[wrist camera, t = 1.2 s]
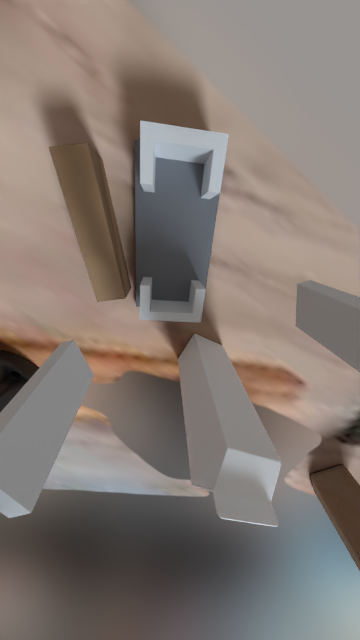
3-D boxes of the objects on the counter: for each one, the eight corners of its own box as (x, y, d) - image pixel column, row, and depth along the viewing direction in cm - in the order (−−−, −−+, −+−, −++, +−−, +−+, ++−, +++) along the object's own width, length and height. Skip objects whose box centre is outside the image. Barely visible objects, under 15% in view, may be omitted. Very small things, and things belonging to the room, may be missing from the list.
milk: (194, 332, 32) (242, 494, 13) (223, 345, 34) (308, 508, 14) (177, 359, 35) (195, 535, 15) (205, 370, 36) (257, 543, 16)
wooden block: (308, 473, 55) (378, 591, 37) (343, 462, 54) (432, 578, 36) (312, 488, 59) (376, 602, 41) (344, 478, 58) (425, 590, 40)
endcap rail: (136, 304, 29) (131, 319, 24) (136, 143, 21) (127, 118, 16) (201, 307, 31) (208, 322, 26) (223, 156, 23) (239, 135, 18)
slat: (107, 290, 28) (97, 301, 24) (72, 163, 22) (48, 146, 17) (131, 287, 29) (125, 298, 24) (102, 160, 22) (87, 142, 18)
